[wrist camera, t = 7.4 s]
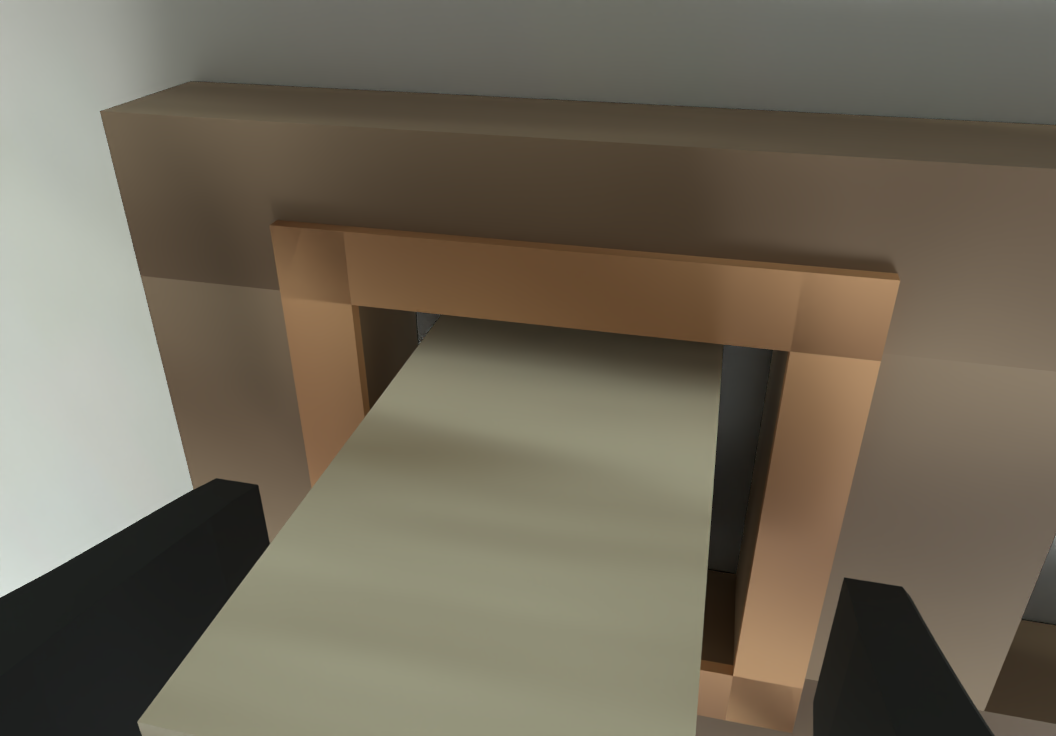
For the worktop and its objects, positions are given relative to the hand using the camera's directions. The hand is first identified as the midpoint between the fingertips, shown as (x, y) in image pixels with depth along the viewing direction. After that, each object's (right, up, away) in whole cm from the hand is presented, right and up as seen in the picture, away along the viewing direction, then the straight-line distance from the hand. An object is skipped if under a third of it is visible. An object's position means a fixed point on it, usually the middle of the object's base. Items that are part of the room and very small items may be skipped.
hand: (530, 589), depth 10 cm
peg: (+1, +2, +3) cm, 4 cm away
